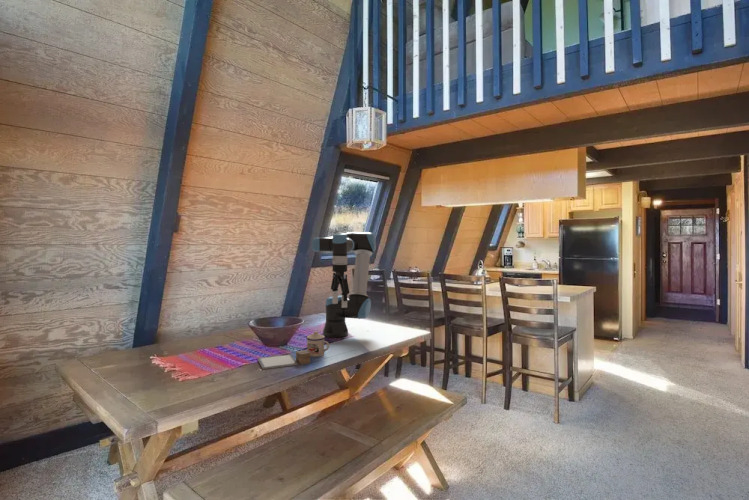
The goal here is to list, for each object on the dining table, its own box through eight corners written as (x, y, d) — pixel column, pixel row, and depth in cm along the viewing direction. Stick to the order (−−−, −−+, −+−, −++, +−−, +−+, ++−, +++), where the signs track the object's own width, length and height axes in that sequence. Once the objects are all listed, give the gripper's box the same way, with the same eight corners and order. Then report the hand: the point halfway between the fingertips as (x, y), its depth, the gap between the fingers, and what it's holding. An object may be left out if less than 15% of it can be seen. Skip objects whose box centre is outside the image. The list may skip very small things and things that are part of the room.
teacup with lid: (303, 355, 206) (303, 332, 205) (312, 351, 214) (312, 328, 214) (324, 358, 201) (324, 335, 201) (333, 353, 210) (333, 330, 209)
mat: (257, 359, 200) (257, 357, 200) (290, 355, 206) (290, 354, 206) (262, 369, 185) (262, 367, 185) (298, 364, 192) (298, 363, 192)
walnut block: (296, 362, 196) (296, 351, 196) (305, 360, 199) (305, 350, 199) (300, 364, 192) (300, 354, 192) (310, 363, 195) (310, 352, 195)
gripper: (325, 262, 221) (324, 302, 222) (341, 265, 199) (341, 309, 199) (338, 262, 225) (338, 301, 225) (356, 265, 202) (355, 308, 203)
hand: (339, 305), depth 212 cm, fingers open, 13 cm apart
